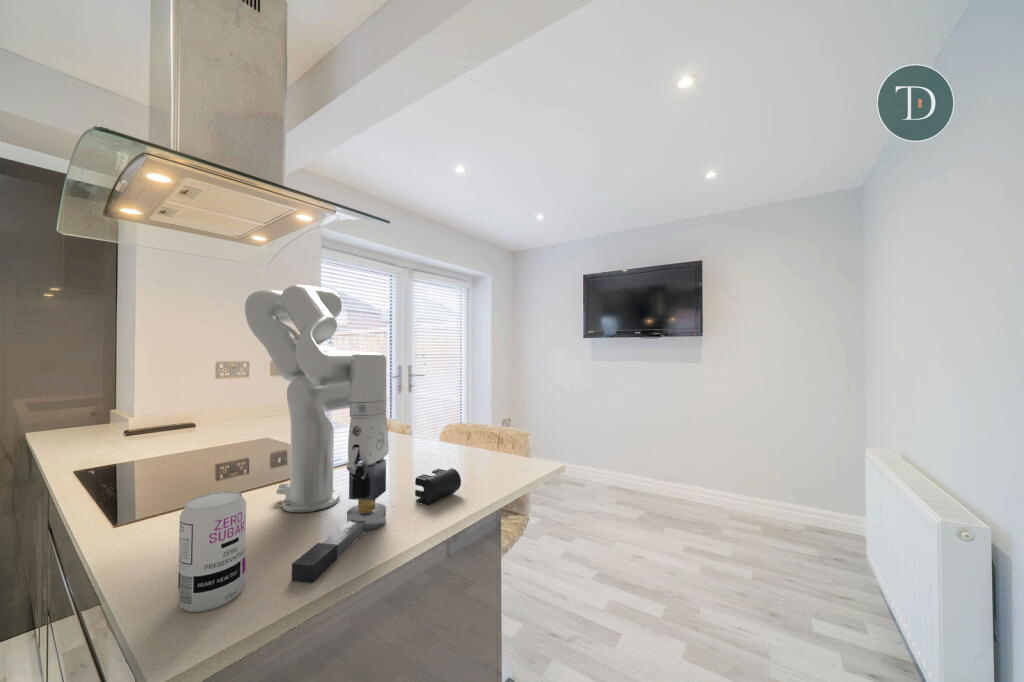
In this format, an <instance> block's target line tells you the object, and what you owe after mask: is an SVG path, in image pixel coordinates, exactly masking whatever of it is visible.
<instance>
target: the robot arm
mask: <svg viewBox="0 0 1024 682" xmlns="http://www.w3.org/2000/svg"><path fill="white" fill-rule="evenodd" d="M342 303H343V302H342V299H341V297H340V295H339V294H338V293H337V292H336V291H334V290H333V289H331V288H326V287H321V286H320V287H319V286H312V285H306V284H305V285H304V284H294V285H290V286H288V287H286V288H285V289H284V290H273V289H262V290H257V291H254V292H252V293H251V294H249V295H248V296H247V298H246V300H245V304H244V313H245V314H244V315H245V318H246V322H247V325H248V327H249V329H250V331H251V332H252V334H253V335H254V336H255V337H256V339H257V340H258V341H259V342H260V343H261V345H262V346H264V348H265V349H266V351H267V353H268V355H269V357H270V359H271V361H272V362H273V364H274V366H275V367H276V369H277V371H278V373H279V375H280V376H281V377H282V378H283V379H284V380H285V381H288V382H290V383H289V384H288V386H287V388H286V400H287V405H288V411H289V418H290V419H289V420H290V459H289V460H290V463H289V464H290V467H289V471H290V472H289V483H285V482H283V483H280V484H279V486H278V488H277V489H276V494H277V495H285V499H284V500H282V503H281V504H282V505H281V506H282V510H284V511H287V512H289V513H309V512H311V513H312V512H317V511H320V510H323V509H326V508H329V507H332V506H333V505H335V504H337V502H339V500H340V495H341V494H340V492H339V491H337V490H336V489H335V490H334V451H335V450H334V448H335V447H334V446H335V445H334V444H335V442H334V441H335V440H334V439H335V430H334V426H333V424H332V422H331V421H330V419H329V418H328V416H327V415H326V413H327V412H330V411H332V412H333V411H337V410H344V409H345V410H346V409H349V418H350V423H349V430H348V439H347V440H348V442H347V458H348V459H347V460H348V462H347V465H346V470H347V471H348V472H350V474H351V479H353V495H352V496H353V497H354V498H367V497H368V478H366V476H367V467H368V465H372V464H374V463H375V462H377V461H379V460H380V459H385V457H386V456H388V454H389V448H390V447H389V446H390V445H389V427H388V418H387V357H386V356H385V354H384V353H381V352H364V351H363V352H362V351H339V350H338V349H336V348H335V347H332V346H328V345H327V346H326V345H320V344H322V343H324V342H326V341H328V340H330V338H333V336H334V334H335V333H336V332H337V329H338V328H337V327H338V322H337V320H336V318H337V317H338V316H340V313H341V312H342V306H343V305H342ZM285 323H292V324H294V327H295V328H296V330H297V331H298V332H299V333H298V332H297V331H296V330H295V329H293V328H292V327H290V326H289V325H287V324H285ZM359 461H362V462H363V463H358V462H359ZM358 466H360V467H363V470H362V471H361V470H360V469H359V468H358Z"/></svg>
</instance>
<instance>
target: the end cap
mask: <svg viewBox="0 0 1024 682" xmlns="http://www.w3.org/2000/svg"><path fill="white" fill-rule="evenodd" d="M431 474H434V475H429V474H424V473H422V475H419V476H416V477H415V479H414V480H415V483H414V484H415V486H419V487H422V489H423V490H420V489H415V490H414V496H415V497H417V498H416V499H415V502H416V503H417V502H419V503H418V504H421V503H422V504H421V505H424V504H425V506H430V505H433V504H435V503H437V502H439V501H441V500H443V499H445V498H447V497H449V496H451V495H454V494H455V493H456V492H457V491H459V489H460V488H461V486H462V478H461V475H460V473H459V471H457V469H455V468H453V467H452V468H449V469H447V470H445V469H442V468H436V469H434V470H432V471H431Z"/></svg>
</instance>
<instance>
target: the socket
mask: <svg viewBox="0 0 1024 682" xmlns="http://www.w3.org/2000/svg"><path fill="white" fill-rule="evenodd" d="M358 463H363V462H362V461H359V462H358ZM358 468H359V469H360V470H361V471H362V470H363V467H360V466H358ZM348 472H349V471H348ZM348 476H349V477H348V500H357V501H358V500H375V501H376V500H377V499H378V498H379V497H380V496H382V495H383V494H385V492H387V459H385V458H383V459H380V460H379V461H377V462H375V463H374V464H372V465H368V467H367V476H366V478H368V497H367V498H354V497H353V496H352V495H353V479H351V474H350V472H349V473H348Z"/></svg>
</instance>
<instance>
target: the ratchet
mask: <svg viewBox="0 0 1024 682" xmlns="http://www.w3.org/2000/svg"><path fill="white" fill-rule="evenodd" d="M357 504H358V505H357ZM357 504H356V505H355V506H352V507H350V508H348V509H347V512H346V523H345V524H344V525H342V526H341V527H340V528H339V529H337V530H336V531H335V532H334V533H333V534H332V535H330V536H329V537H327V538H326V539H325V540H324V541H323V542H318V543H316V544H314V545H313V546H312V547H310V548H309V549H308V550H307V551H306V552H304V554H302V555H301V556H300V557H299V558H297V559H296V560H294V561H293V562H292V563H291V582H301V583H309V584H313V583H315V582H316V581H317V580H318V579H319V578H320V577H321V576H322V575H323V574H324V573H326V571H327V570H328V569H330V567H331V566H332V565H334V564H335V561H336V562H337V561H338V558H339V557H340V556H341V555H343V553H345V552H346V551H345V550H346V549H347V548H348V547H349V546H350V545H351V544H352V543H353V542H354V541H355V540H356V539H357V540H359V538H361V537H362V536H363V535H364V534H365V533H369V532H373V531H376V530H378V529H380V528H382V527H383V526H385V524H386V523H385V522H386V521H387V519H386V518H387V506H386V505H385V504H384V503H379V502H376V499H375V500H357ZM368 531H369V532H368ZM364 532H365V533H364ZM363 533H364V534H363ZM362 534H363V535H362ZM361 535H362V536H361ZM360 536H361V537H360ZM357 540H356V541H357ZM356 541H355V542H356ZM355 542H354V543H355ZM354 543H353V544H354ZM353 544H352V545H353ZM352 545H351V546H352ZM351 546H350V547H351ZM350 547H349V548H350ZM349 548H348V549H349ZM348 549H347V550H348ZM344 551H345V552H344Z"/></svg>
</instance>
